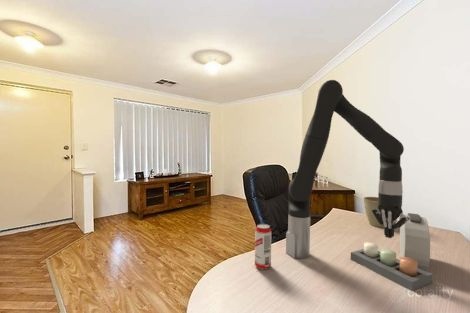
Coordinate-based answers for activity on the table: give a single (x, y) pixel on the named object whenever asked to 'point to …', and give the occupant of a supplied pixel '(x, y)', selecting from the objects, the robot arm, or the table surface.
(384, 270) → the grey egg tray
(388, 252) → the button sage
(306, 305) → the table surface
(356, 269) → the table surface
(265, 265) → the beer can
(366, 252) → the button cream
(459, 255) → the table surface
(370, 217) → the plant pot
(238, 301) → the table surface
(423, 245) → the alarm clock
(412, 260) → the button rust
